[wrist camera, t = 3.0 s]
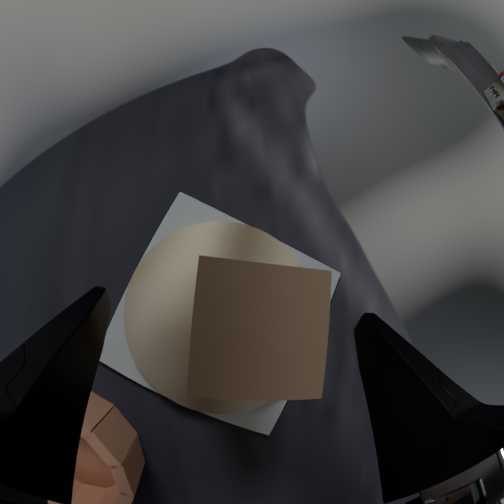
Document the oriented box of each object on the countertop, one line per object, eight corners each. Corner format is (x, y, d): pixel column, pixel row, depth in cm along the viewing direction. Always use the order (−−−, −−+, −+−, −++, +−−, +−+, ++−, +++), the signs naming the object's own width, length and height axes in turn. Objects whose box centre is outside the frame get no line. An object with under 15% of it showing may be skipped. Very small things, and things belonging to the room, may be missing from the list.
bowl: (160, 428, 14) (150, 461, 10) (125, 505, 11) (114, 538, 7) (46, 359, 13) (10, 368, 9) (27, 444, 11) (-1, 464, 6)
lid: (316, 238, 18) (430, 162, 8) (303, 409, 16) (411, 487, 5) (141, 214, 16) (85, 96, 6) (122, 396, 14) (41, 487, 3)
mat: (337, 274, 18) (340, 273, 18) (267, 433, 15) (269, 435, 15) (180, 194, 17) (180, 191, 17) (97, 357, 14) (95, 358, 14)
